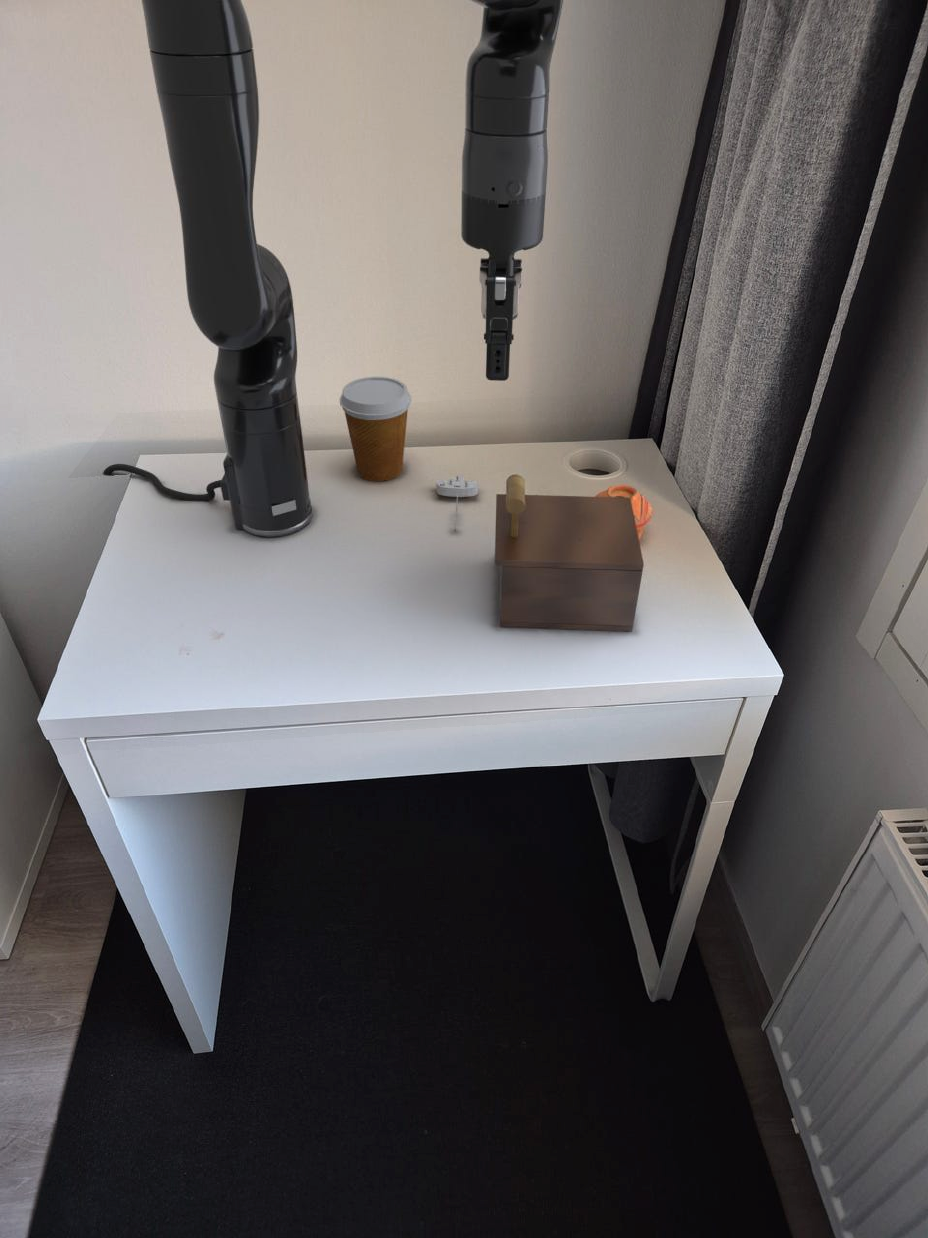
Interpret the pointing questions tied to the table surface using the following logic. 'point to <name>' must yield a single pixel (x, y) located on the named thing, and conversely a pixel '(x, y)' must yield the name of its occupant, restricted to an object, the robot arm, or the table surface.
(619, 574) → the chest
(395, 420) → the disposable coffee cup
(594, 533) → the lid
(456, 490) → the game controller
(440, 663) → the table surface
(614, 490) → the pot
